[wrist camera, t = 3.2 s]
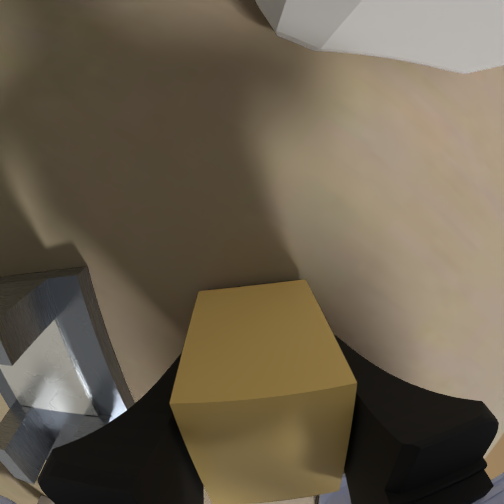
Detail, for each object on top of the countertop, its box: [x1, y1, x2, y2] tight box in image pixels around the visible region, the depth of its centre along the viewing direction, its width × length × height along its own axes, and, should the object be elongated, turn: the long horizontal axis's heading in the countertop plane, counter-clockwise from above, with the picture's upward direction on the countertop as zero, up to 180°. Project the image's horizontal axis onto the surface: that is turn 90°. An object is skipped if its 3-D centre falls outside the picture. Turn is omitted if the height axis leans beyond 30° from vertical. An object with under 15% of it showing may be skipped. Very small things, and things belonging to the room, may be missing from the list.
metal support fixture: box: [0, 267, 135, 484], centre depth 13 cm, size 9×27×5 cm, turn 6°
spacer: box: [169, 279, 357, 504], centre depth 10 cm, size 4×5×6 cm
